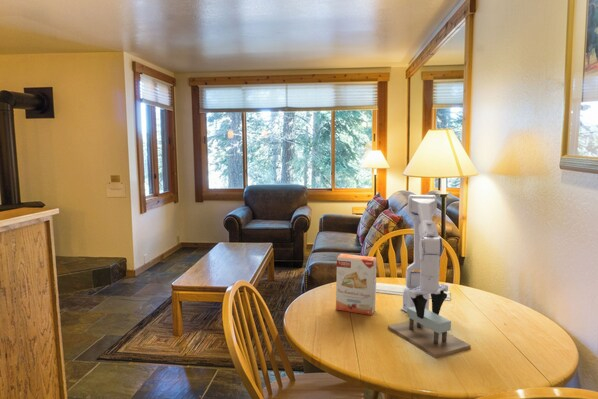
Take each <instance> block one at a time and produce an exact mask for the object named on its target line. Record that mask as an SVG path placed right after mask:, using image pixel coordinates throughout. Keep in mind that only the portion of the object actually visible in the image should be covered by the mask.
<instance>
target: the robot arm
mask: <svg viewBox="0 0 598 399" xmlns="http://www.w3.org/2000/svg"><path fill="white" fill-rule="evenodd" d="M437 199H438V198H437V196H436V195H435V194H409V195H408V196H407V216H408V217H409V218H411V219H412V221H413V262H412V263H411V264H409V265H408V266H407V267H406V270H405V286H406V288H405V289H404V292H403V296H402V307H400V310H402V311H404V312H406V313H407V308H409V307H414V306H415V309H416V313H417V317H419V318H421V319H423V318H424V310H425V309H427V310H429V311H430V299H429V294H431V312H433V313H436V314H438V315H439V314H440V311H441V308H442V306H443V303H444V302H445V301H446V300H445V299H446V298H447V294H446V293H444V291H445V292H447V291H449V285H447V284H445V283H444V284H443V283H441V284H440V265H441V264H440V262H441V257H442V254H443V251H444V249H443V248H444V246H443V245H444V244H443V239H442V237H441V235H439V233H438V227H437V224H436V222H435V221H433V218H434V215H435V213H436V211H437V207H438V200H437Z"/></svg>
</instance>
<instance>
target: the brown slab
mask: <svg viewBox="0 0 598 399" xmlns="http://www.w3.org/2000/svg"><path fill="white" fill-rule="evenodd" d="M408 319H409V320H406V321H402V322H399V323H394V324H390V325H387V329H388V330H390V331H391V332H393V333H394V334H396V335H398V336H400V337H401V338H403V339H404V340H406V341H407V342H409V343H410V344H412V345H414V346H416V347H417V348H419V349H420V350H422V351H423V352H425V353H427V354H428V355H430V356H432V357H433V358H435V359H438V358H441V357H442V358H443V357H445V356H449V355H453V354H456V353H458V352H462V351H466V350H468V349H469V350H470V349H471V346H472V345H471V344H469V343H468V342H466V341H464V340H462V339H460V338H458V337H456V336H454V335H452V334H450V333H449V332H448V331H446V332H442V333H439V334H438V333H437V332H435V331H433V330H431V329H429V328H427V327H425V326H424V325H422V324H420V323H418V322H416V321H414V320H412V319H411V318H409V317H408Z"/></svg>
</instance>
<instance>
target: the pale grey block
mask: <svg viewBox="0 0 598 399" xmlns="http://www.w3.org/2000/svg"><path fill="white" fill-rule="evenodd" d="M406 317H407V318H408V319H409V318H411V319H412V320H414V321H416V322H418V323H420V324H422V325H424V326H425V327H427V328H429V329H431V330H433V331H435V332H437V333H438V334H439V333H442V332H446V331H447V332H449V331H451V330H452V328H451V327H452V320H450V319H447V318H446V317H443V316H442V315H438V314H436V313H433V312H432V310H430V309H429V310H427V309H425V310H424V318H423V319H421V318H419V317H417V313H416V309H415V306H414V307H409V308H407V312H406Z"/></svg>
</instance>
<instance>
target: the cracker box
mask: <svg viewBox="0 0 598 399" xmlns="http://www.w3.org/2000/svg"><path fill="white" fill-rule="evenodd" d="M377 259H378V258H377V257H376V256H367V255H357V254H347V253H340V254H338V256H336V287H335V288H336V290H335V295H336V296H335V310H337V311H343V312H350V313H355V314H361V315H367V316H372V315H373V314H374V312H375V311H376V294H377V293H376V283H377V282H376V281H377Z"/></svg>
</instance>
